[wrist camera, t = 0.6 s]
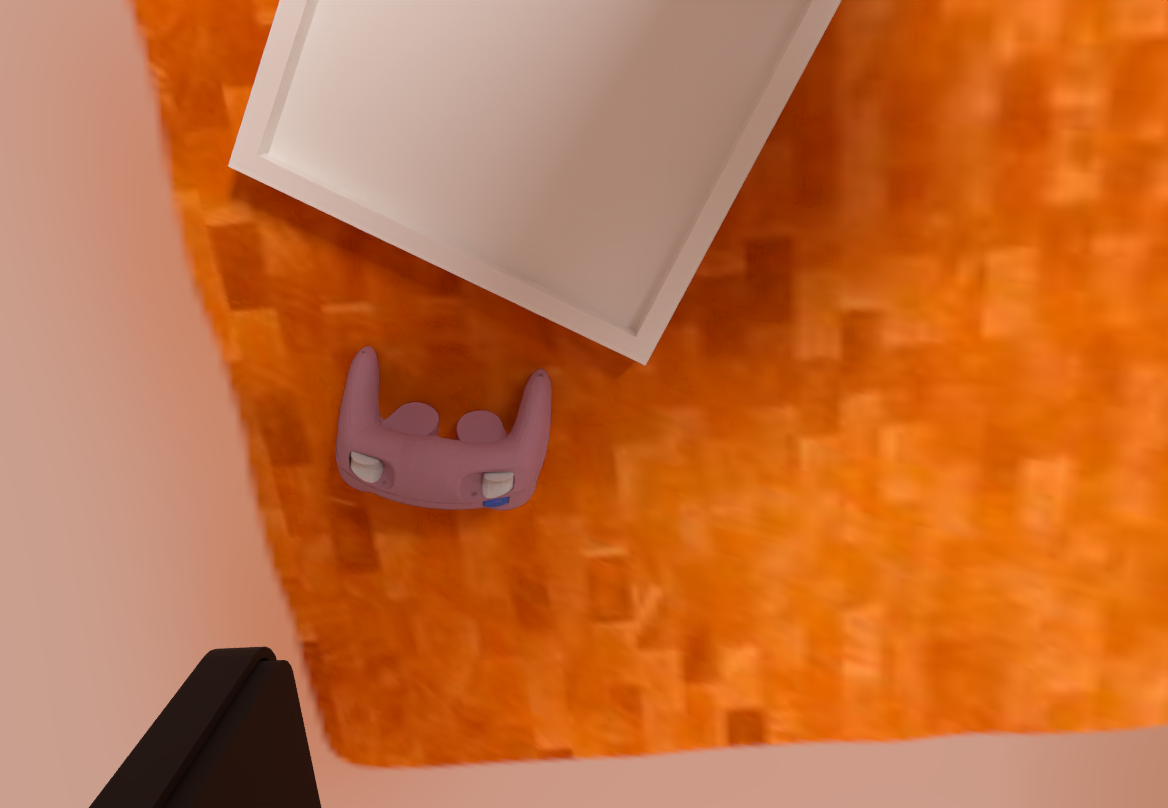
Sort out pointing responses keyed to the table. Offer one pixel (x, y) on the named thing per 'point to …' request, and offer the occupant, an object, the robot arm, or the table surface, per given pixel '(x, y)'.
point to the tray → (531, 137)
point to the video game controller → (440, 447)
